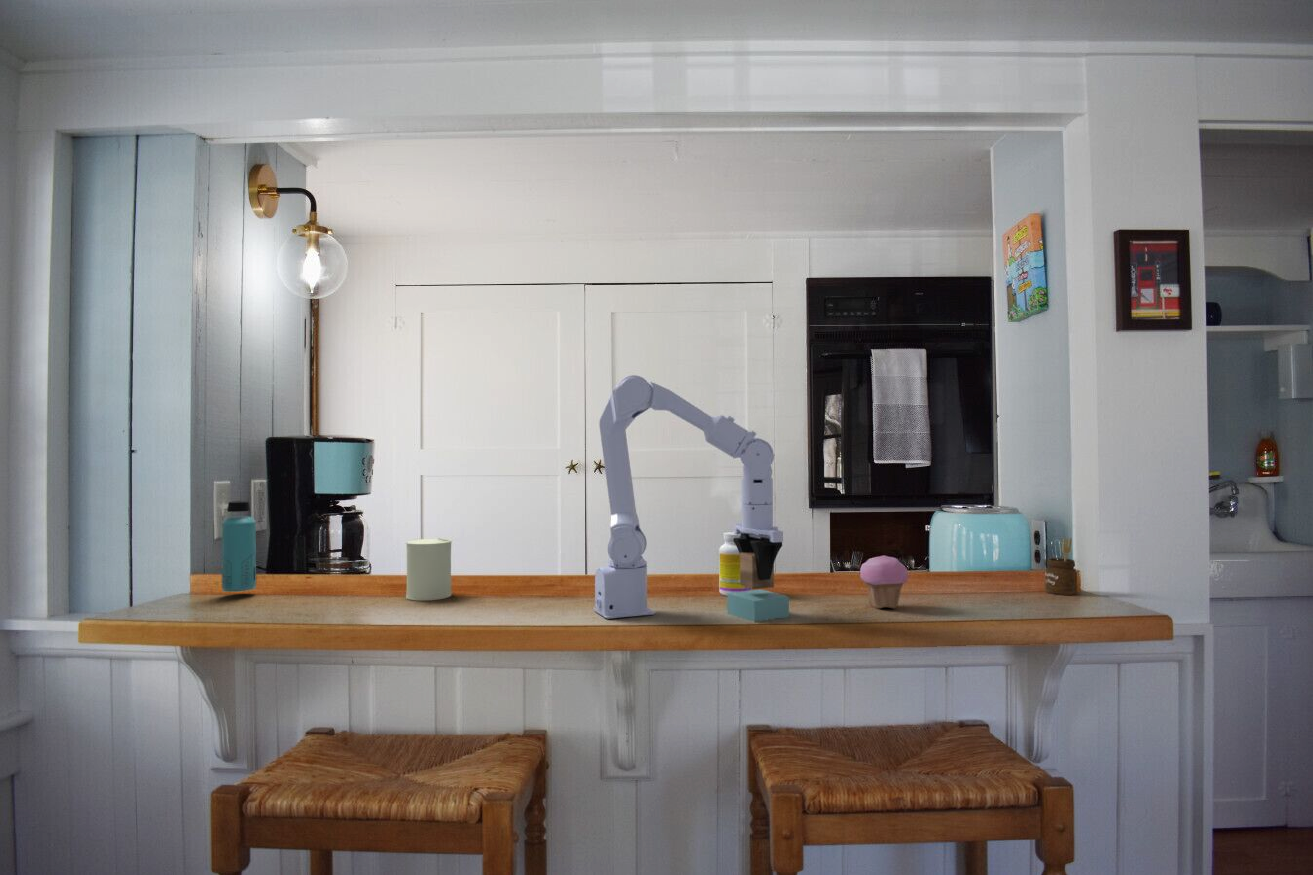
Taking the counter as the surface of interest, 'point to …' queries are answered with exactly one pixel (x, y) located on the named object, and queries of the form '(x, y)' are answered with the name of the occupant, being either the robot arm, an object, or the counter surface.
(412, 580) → the can
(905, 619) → the counter surface
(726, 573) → the supplement bottle
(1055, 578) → the utensil holder
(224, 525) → the beverage bottle
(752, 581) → the walnut block
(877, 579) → the cupcake
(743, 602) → the teal base box
